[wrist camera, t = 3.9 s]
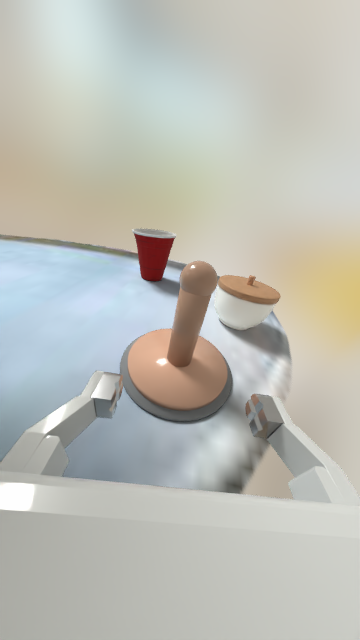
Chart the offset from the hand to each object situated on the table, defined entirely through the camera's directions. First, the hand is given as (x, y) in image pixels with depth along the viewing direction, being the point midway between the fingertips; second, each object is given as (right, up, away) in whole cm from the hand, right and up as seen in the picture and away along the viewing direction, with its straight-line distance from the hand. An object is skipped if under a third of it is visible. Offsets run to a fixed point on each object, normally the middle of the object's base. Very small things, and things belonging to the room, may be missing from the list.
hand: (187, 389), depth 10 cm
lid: (-1, -1, +10) cm, 10 cm away
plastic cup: (-9, +16, +36) cm, 40 cm away
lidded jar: (+10, +4, +23) cm, 25 cm away
